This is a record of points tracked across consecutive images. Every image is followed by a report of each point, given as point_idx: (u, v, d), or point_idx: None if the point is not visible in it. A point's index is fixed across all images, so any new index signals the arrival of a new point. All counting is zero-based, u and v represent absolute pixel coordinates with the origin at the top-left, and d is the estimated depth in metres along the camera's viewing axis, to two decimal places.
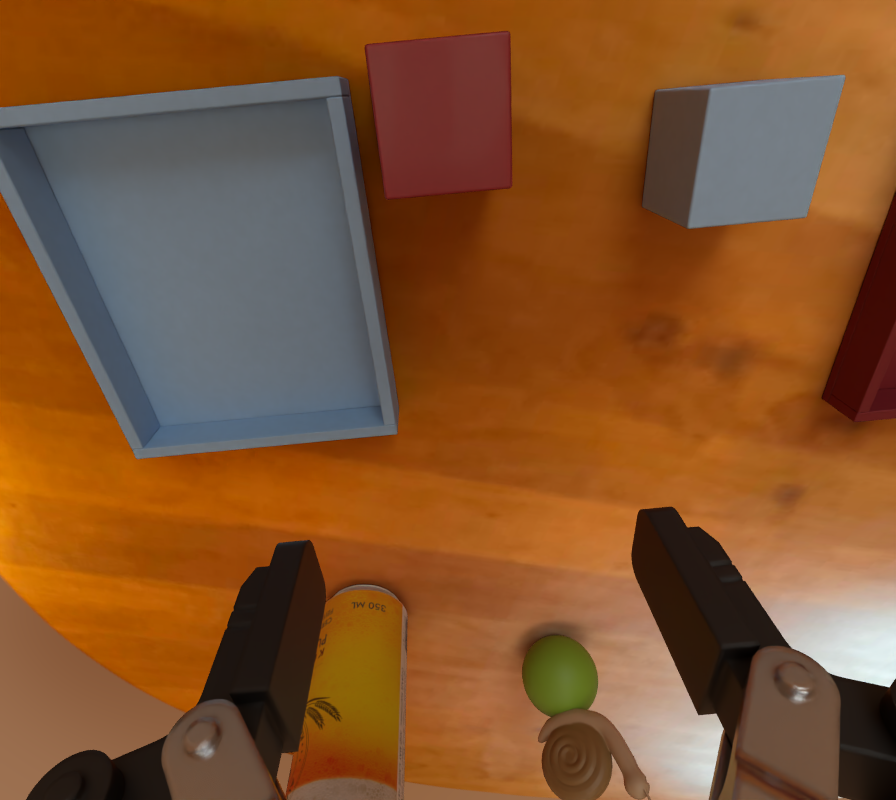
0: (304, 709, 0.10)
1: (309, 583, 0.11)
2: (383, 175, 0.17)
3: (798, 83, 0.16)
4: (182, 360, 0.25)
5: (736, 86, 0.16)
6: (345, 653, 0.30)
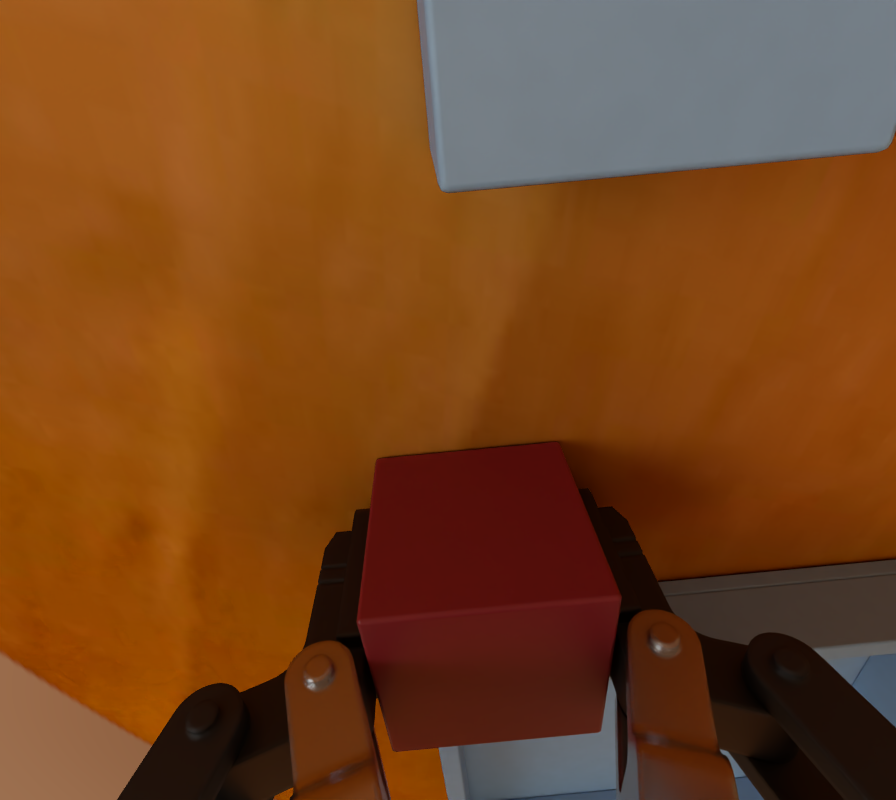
0: None
1: None
2: (564, 734, 0.11)
3: None
4: (724, 751, 0.20)
5: (435, 88, 0.04)
6: None
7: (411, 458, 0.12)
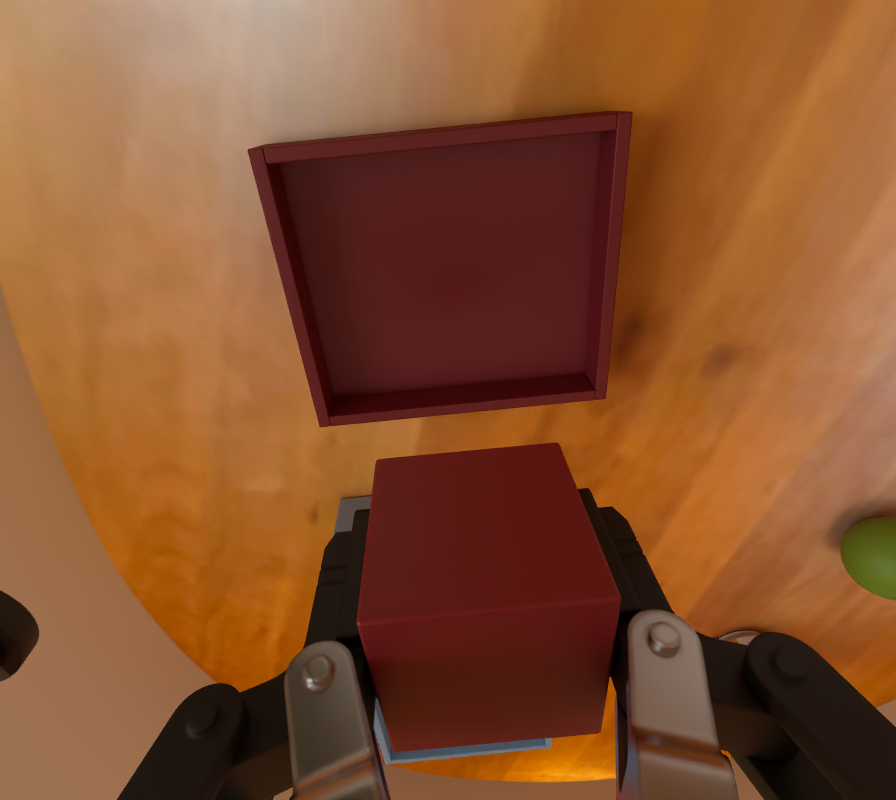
0: None
1: None
2: (564, 735, 0.11)
3: None
4: None
5: None
6: None
7: (411, 458, 0.12)
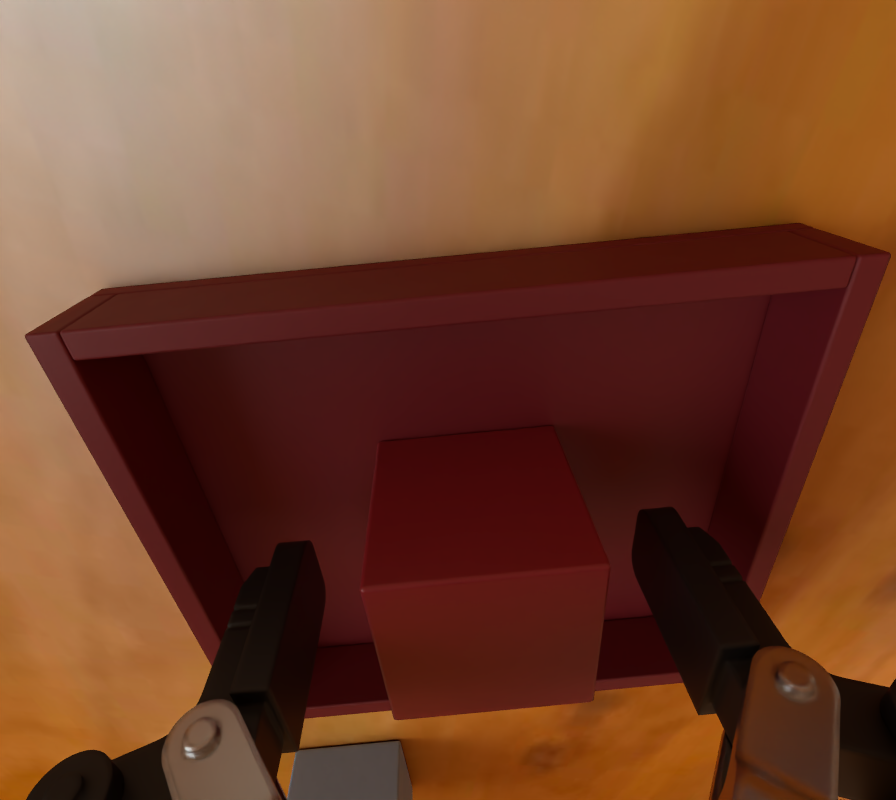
0: (304, 709, 0.10)
1: (309, 583, 0.11)
2: (558, 704, 0.11)
3: None
4: None
5: None
6: None
7: (411, 441, 0.12)
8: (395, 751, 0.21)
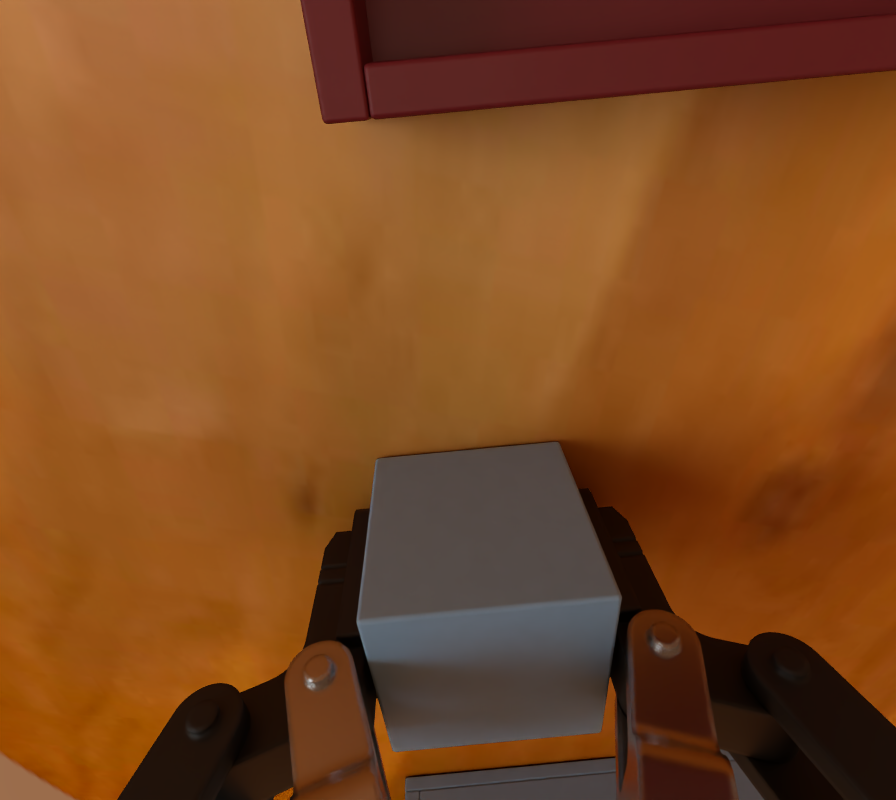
0: None
1: None
2: None
3: (375, 676, 0.09)
4: None
5: (388, 729, 0.10)
6: None
7: None
8: (555, 451, 0.12)
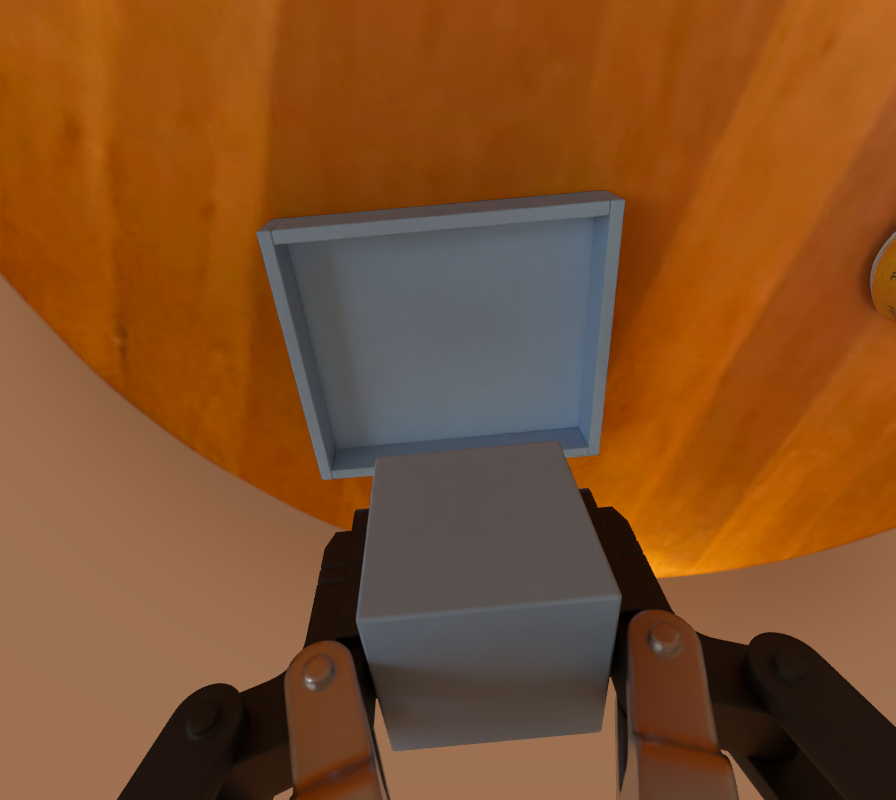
0: None
1: None
2: None
3: (374, 675, 0.09)
4: (514, 396, 0.27)
5: (387, 728, 0.10)
6: None
7: None
8: (555, 450, 0.12)
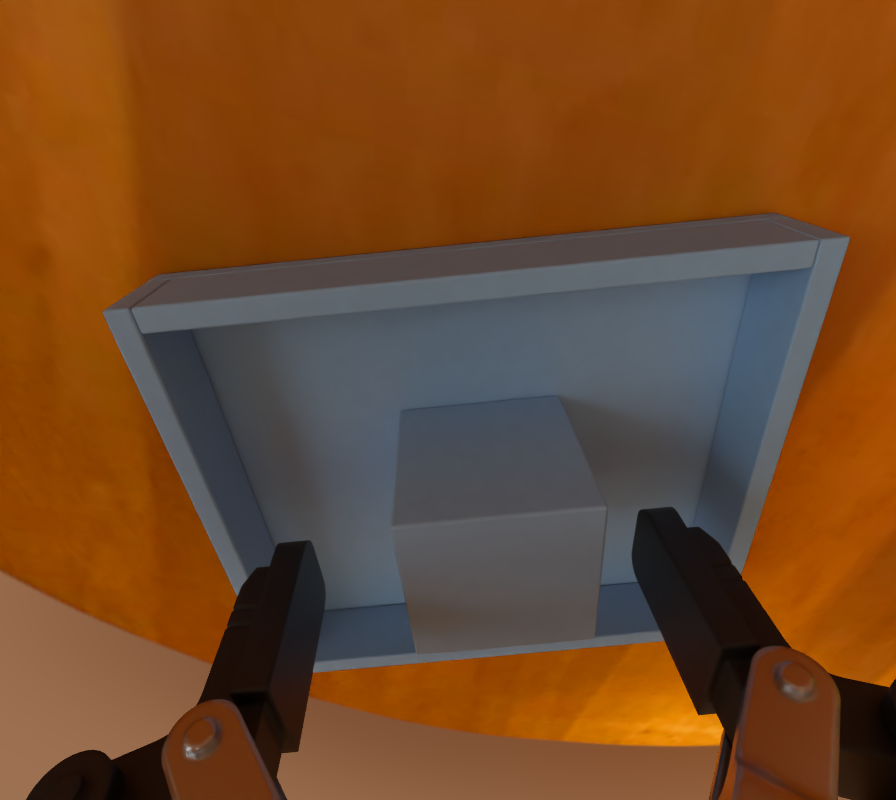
0: (304, 709, 0.10)
1: (309, 583, 0.11)
2: None
3: (404, 578, 0.11)
4: None
5: (413, 632, 0.12)
6: None
7: None
8: (555, 403, 0.14)
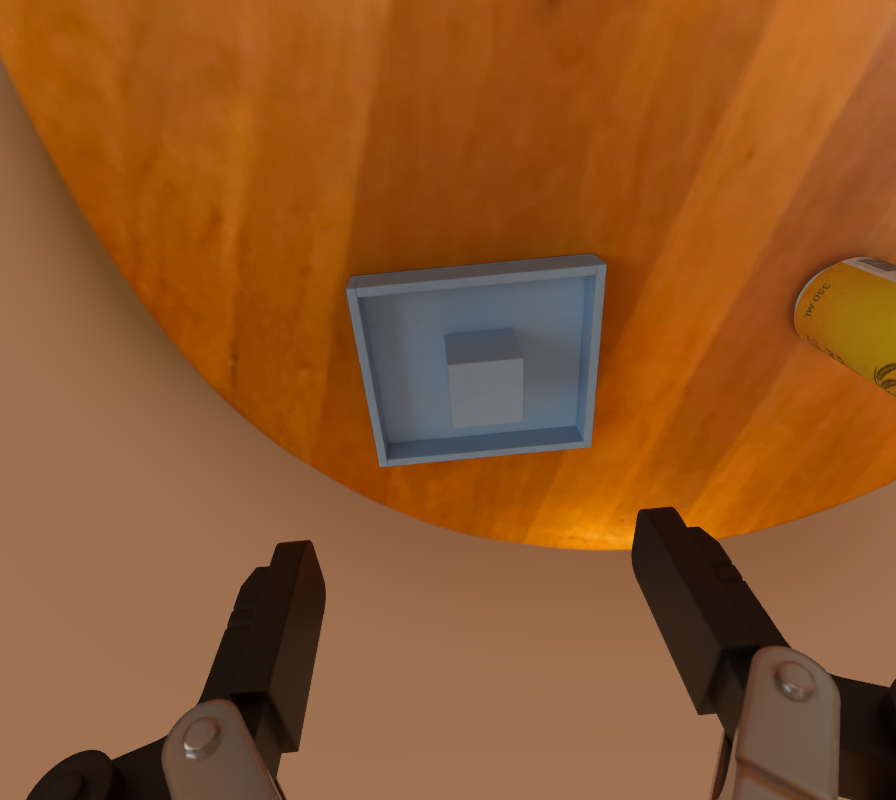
0: (304, 709, 0.10)
1: (309, 583, 0.11)
2: None
3: (450, 388, 0.30)
4: (526, 402, 0.36)
5: (452, 416, 0.31)
6: (845, 338, 0.29)
7: None
8: (509, 330, 0.32)
